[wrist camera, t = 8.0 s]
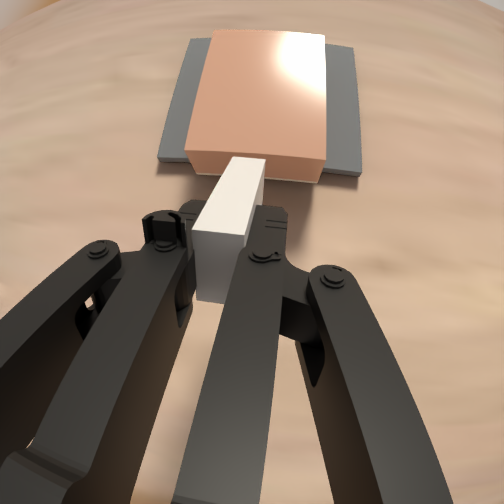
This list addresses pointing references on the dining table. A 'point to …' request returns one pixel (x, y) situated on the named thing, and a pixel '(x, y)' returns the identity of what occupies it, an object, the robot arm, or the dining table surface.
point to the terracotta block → (261, 104)
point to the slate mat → (337, 109)
